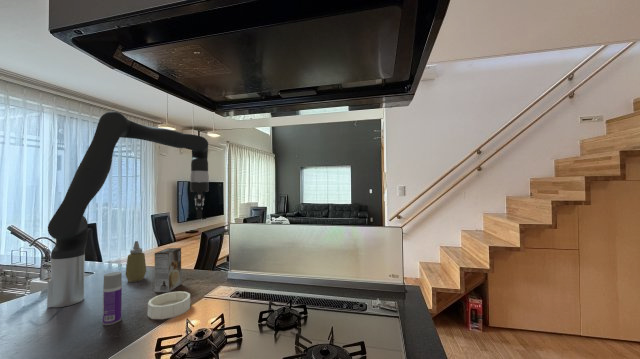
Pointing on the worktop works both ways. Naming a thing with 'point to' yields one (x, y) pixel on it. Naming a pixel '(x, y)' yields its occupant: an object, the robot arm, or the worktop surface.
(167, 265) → the coffee box
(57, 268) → the robot arm
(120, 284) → the container
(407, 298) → the worktop surface
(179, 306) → the bowl
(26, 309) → the worktop surface
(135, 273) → the squeeze bottle
